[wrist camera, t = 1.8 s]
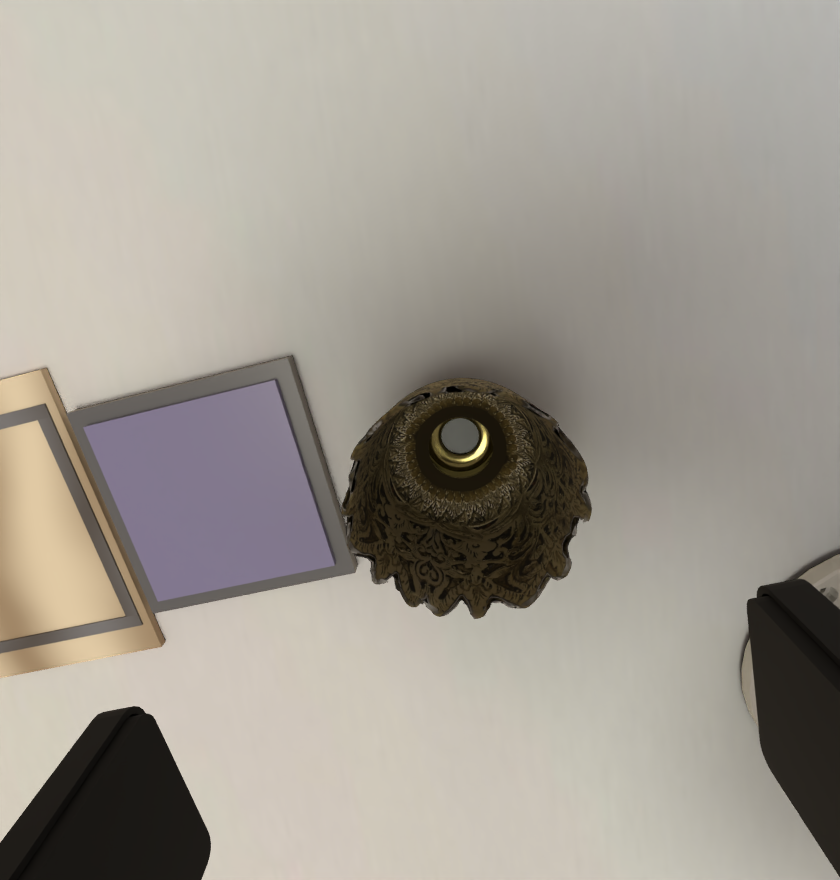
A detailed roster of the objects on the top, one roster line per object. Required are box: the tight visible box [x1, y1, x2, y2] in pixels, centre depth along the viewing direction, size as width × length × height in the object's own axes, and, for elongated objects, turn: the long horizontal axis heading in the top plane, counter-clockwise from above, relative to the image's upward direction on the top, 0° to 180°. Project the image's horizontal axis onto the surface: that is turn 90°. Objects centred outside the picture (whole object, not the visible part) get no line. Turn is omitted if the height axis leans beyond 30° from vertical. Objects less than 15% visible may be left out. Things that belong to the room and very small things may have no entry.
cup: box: [342, 378, 592, 619], centre depth 21 cm, size 8×7×8 cm
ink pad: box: [66, 356, 358, 613], centre depth 25 cm, size 10×10×1 cm
